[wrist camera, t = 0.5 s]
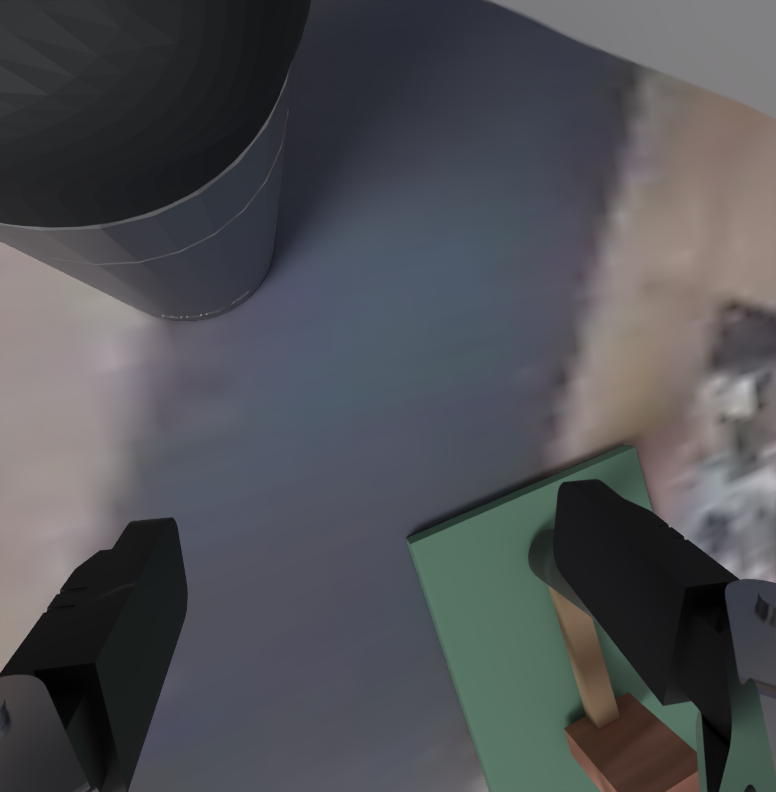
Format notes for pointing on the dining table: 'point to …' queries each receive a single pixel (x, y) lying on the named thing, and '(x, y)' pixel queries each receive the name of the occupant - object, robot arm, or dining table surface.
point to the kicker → (610, 705)
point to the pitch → (523, 633)
